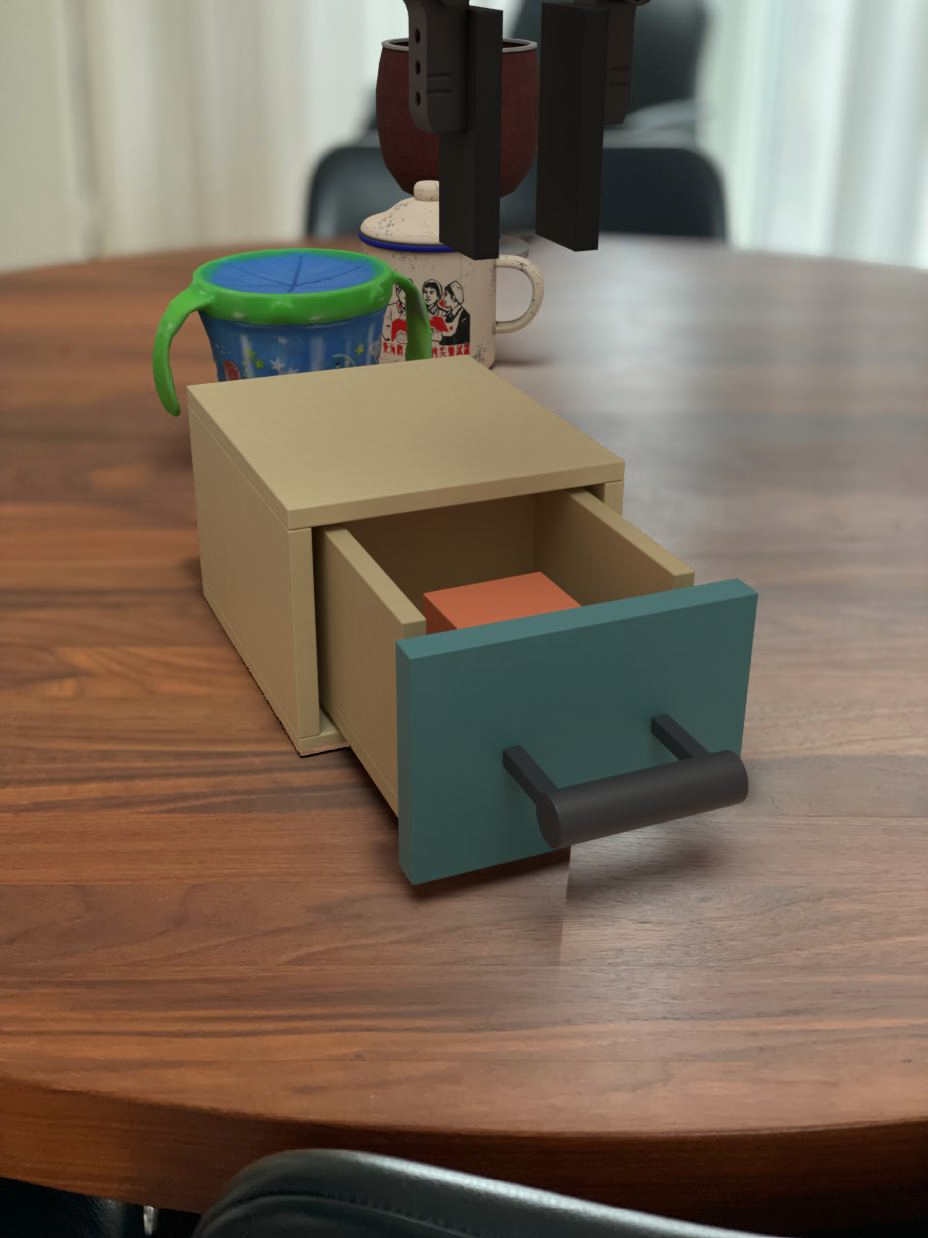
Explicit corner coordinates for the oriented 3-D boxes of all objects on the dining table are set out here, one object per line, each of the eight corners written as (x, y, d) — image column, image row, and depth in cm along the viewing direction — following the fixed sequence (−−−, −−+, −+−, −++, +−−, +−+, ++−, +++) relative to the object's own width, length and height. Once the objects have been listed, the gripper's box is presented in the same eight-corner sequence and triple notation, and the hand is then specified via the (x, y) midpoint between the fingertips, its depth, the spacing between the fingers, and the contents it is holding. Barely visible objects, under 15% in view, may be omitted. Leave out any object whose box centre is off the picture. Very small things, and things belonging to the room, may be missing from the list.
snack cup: (186, 504, 73) (169, 305, 69) (141, 440, 82) (123, 259, 78) (468, 463, 79) (469, 277, 74) (398, 407, 88) (395, 237, 83)
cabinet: (612, 693, 56) (626, 459, 52) (300, 758, 52) (287, 509, 48) (466, 552, 68) (467, 353, 64) (202, 595, 64) (185, 384, 60)
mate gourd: (396, 233, 134) (393, -3, 125) (546, 239, 132) (554, 0, 123) (357, 270, 120) (351, 9, 111) (524, 278, 118) (531, 12, 109)
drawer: (812, 880, 44) (844, 653, 41) (467, 974, 40) (470, 732, 37) (555, 634, 59) (562, 451, 55) (284, 685, 55) (274, 492, 51)
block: (536, 683, 53) (540, 571, 51) (596, 742, 49) (603, 623, 47) (423, 707, 51) (422, 592, 49) (476, 771, 47) (478, 649, 45)
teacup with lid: (345, 378, 93) (340, 191, 88) (380, 340, 101) (377, 167, 96) (530, 390, 91) (535, 200, 86) (551, 351, 99) (557, 175, 94)
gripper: (748, -713, 38) (681, 205, 48) (158, -820, 33) (227, 240, 43) (936, -832, 32) (813, 251, 42) (245, -989, 26) (301, 298, 37)
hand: (517, 244), depth 43 cm, fingers open, 2 cm apart
